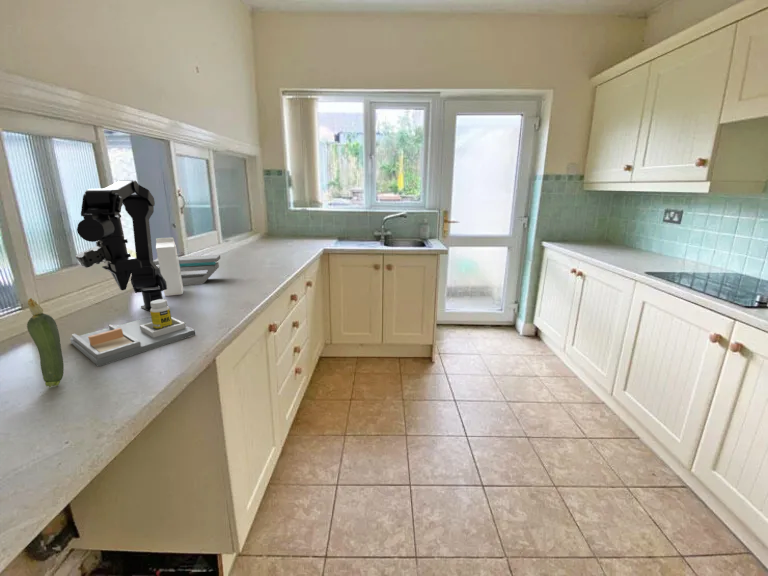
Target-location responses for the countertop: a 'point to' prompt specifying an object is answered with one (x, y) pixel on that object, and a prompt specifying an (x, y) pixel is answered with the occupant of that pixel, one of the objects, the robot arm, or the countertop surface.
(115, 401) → the countertop surface
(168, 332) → the grey divided tray
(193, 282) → the grey heavy duty stapler
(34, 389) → the countertop surface
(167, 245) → the milk
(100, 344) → the lid
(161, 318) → the supplement bottle
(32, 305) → the vegetable
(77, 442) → the countertop surface
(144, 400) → the countertop surface
